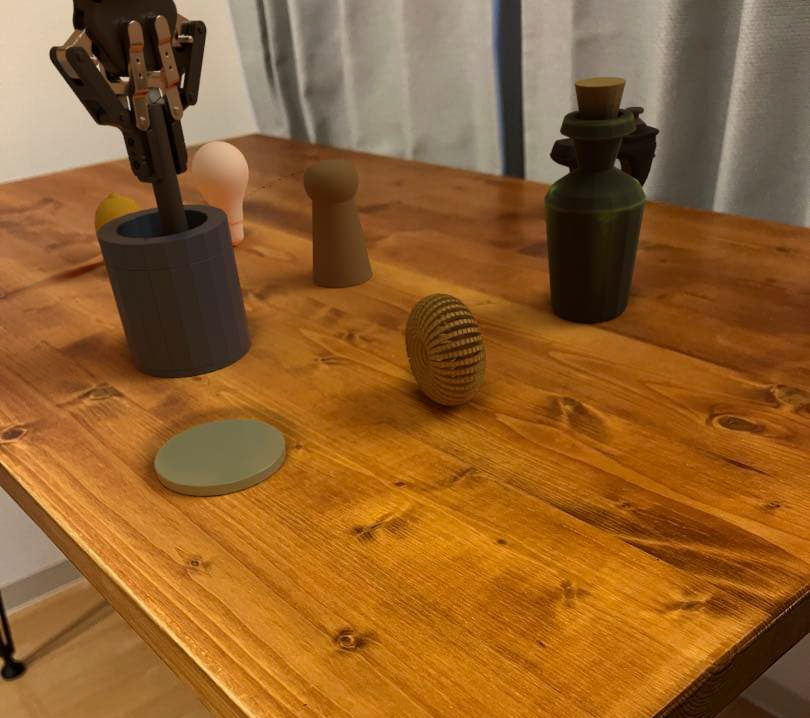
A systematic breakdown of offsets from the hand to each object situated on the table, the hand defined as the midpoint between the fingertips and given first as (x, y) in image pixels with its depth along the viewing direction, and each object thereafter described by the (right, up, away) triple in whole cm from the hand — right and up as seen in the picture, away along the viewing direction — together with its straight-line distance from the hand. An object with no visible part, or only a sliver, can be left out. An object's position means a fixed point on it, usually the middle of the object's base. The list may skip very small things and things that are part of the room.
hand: (162, 176), depth 68 cm
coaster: (+6, -23, -7) cm, 25 cm away
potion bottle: (+35, -8, +9) cm, 37 cm away
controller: (+41, +10, +32) cm, 53 cm away
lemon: (-11, +1, +28) cm, 30 cm away
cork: (+12, -2, +21) cm, 24 cm away
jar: (0, -12, +8) cm, 14 cm away
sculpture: (+22, -18, -2) cm, 28 cm away
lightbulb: (-1, +5, +32) cm, 32 cm away
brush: (+1, -10, +7) cm, 12 cm away
